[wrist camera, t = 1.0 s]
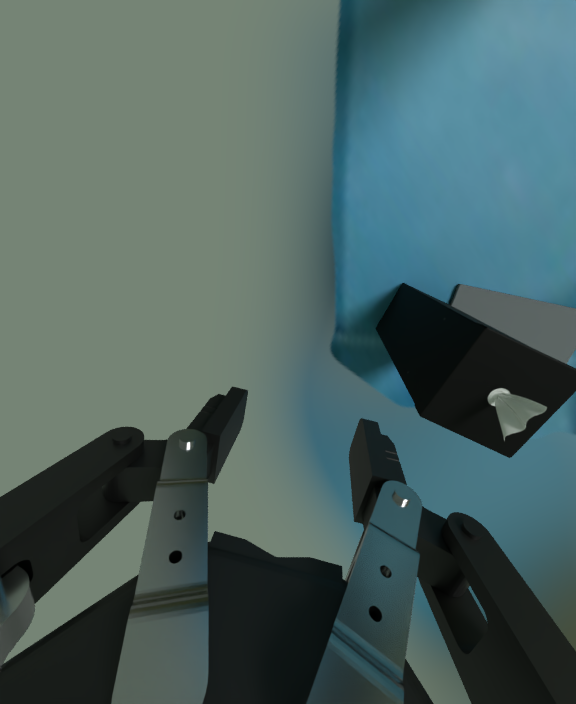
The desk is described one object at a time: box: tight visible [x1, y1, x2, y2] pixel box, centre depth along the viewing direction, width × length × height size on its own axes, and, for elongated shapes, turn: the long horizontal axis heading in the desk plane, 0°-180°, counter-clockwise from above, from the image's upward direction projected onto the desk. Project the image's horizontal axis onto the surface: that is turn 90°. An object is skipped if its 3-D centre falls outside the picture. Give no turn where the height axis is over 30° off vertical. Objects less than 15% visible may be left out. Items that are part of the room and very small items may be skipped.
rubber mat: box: [450, 284, 576, 364], centre depth 43 cm, size 12×18×1 cm, turn 79°
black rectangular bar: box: [376, 283, 576, 458], centre depth 31 cm, size 8×8×28 cm
